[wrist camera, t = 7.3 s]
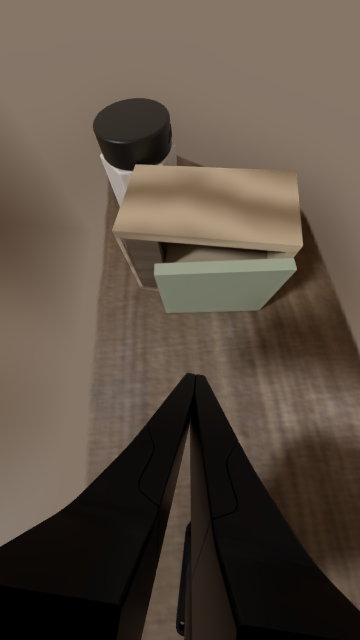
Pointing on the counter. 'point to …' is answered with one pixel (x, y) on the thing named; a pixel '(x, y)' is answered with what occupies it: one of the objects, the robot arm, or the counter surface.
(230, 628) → the robot arm
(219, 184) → the cabinet
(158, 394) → the counter surface
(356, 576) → the counter surface
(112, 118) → the jar
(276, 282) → the door
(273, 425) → the counter surface
